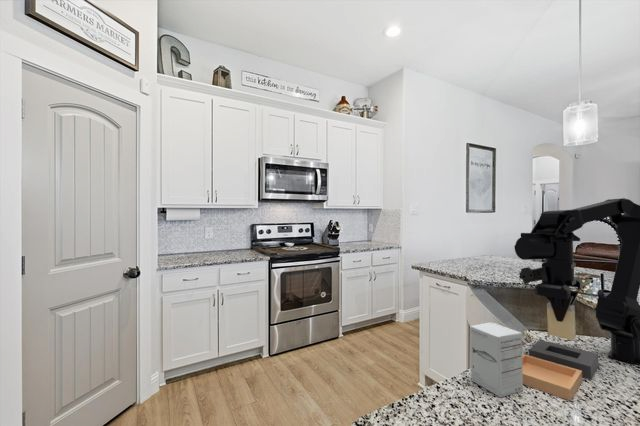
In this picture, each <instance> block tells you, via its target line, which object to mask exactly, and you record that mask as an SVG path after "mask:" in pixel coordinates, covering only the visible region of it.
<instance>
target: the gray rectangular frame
mask: <svg viewBox="0 0 640 426" xmlns="http://www.w3.org/2000/svg"><path fill="white" fill-rule="evenodd" d="M528 355H529V356H532V357H536V358H539V359H543V360H546V361H550V362H553V363H557V364H560V365H564V366H567V367H571V368H574V369H578V370H581V371H582V378H585V379H588V380H591V381H592V379H593V378H594V376H595V374H596V372H597V371H598V369H599V366H600V365H599V362H600V361H599V353H596V352H592V351H588V350H585V349H584V350H583V349H579V348H575V347H571V346H568V345H563V344H560V343H555V342H553V341H548V340H543V339H539V340H538V341H536V342H535V343H534V345H532V346H531V347H530V348H529V349H528Z"/></svg>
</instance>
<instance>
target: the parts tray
mask: <svg viewBox="0 0 640 426" xmlns="http://www.w3.org/2000/svg"><path fill="white" fill-rule="evenodd" d="M522 371H523V386H524V385H525V386H527V387H530V388H533V389H536V390H538V391H541V392H543V393H547V394H549V395H552V396H555V397H558V398H561V399H564V400H567V401H570V402H571V401H572V400H573V398H574V396H575V394H576V393H577V391H578V389H579V388H580V386H581V384H582V383H583V377H582V371H581V370H578V369H574V368H571V367H567V366H564V365H560V364H557V363H553V362H550V361H546V360H543V359H539V358H536V357H532V356H529V354H525V353H522Z"/></svg>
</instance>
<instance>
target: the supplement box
mask: <svg viewBox="0 0 640 426" xmlns="http://www.w3.org/2000/svg"><path fill="white" fill-rule="evenodd" d="M469 327H470V328H469V329H470V368H471V369H470V372H471V373H470V374H471V375H470V378H471V379H470V381H472V382H474V383H475V384H477V385H479V386H480V387H483V388H484V389H486V391H488V392H491V393H492V394H494V395H496V396H497V397H498V398H504V397H507V396H511V395H513V394H517V393H520V392H523V390H524V388H523V386H524V384H523V371H522V354H523V343H522V341H523V338H522V337H523V333H522V332H521V331H519V330H518V331H517V330H515V329H511V328H509V327H506V326H504V325H500V324H498V323H495V322H493V321H492V322H491V321H490V322H484V323H478V324H474V325H470V326H469Z"/></svg>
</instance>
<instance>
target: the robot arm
mask: <svg viewBox="0 0 640 426" xmlns="http://www.w3.org/2000/svg"><path fill="white" fill-rule="evenodd" d="M606 218H609V222H610V223H612V224H613V225H614V226H616V233H617V235H618V238H619V239H620V241H621V246H620V250H619V255H618V257H617V262H616V266H615V271H614V276H613V279H612V285H611V287H610V288H611V289H610V292H609V293H608V294H607V295H605V296H598V297H597V302H596V306H595V308H594V311H595V318H596V319H597V321H598V325H599V328H600V330H602V331H607V332H610V333H609V334H610V335H609V336H610V349H609V351H608V353H607V358H610V359H615V360H618V361H622V362H626V363H629V364H635V365H638V366H640V303H639V301H638V296H639V295H638V294H639V291H640V204H637V203H636V202H634V201H632V200H631V199H629V198H625V197H623V198H622V197H621V198H611V199H609V198H608V199H606V200H604V201H600V202H596V203H593V204H592V203H591V204H589V205H586V206H585V205H583V206H581V207H576V208H572V209H566V210H565V209H561V210H558V209H557V210H546V211H543V212H541V213H540V217H539V218H538V221H537V222H536V224H535V225H534V226H533V228H532V230H531V231H530V232H521V233H520V237H519V238H518V239H516V242H515V245H514V252H515V255H516V256H517V257H518V258H519V259H521V260H524V261H525V260H526V261H529V260H544V261H543V262H542V263H541V267H537V268H531V267H530V266H527V267H524V268H523V267H522V268H521V270H520V272H519V273H518V274H519V276H518V277H519V279H520V280H522V282H523V284H525V285H528V284H530V283H533V282H538V281H541V282H540V283H538V284H537V285H536V286H535V287H534V289H535V291H534V293H535V295H536V296H541V297H545V298H546V299H547V300H548V302H550V303H551V306H552V308H553V311H554V314H555V317H556V320H557V321H560V322H562V321H563V319H564V317H565V315H566V313H567V310H568V308H569V306H570V305H574V303H575V301H576V299H577V298H578V296H579V294H580V291H577V290H573V288H577V289H578V290H582V289H584V288H583V287H584V285H583V284H584V281H583V280H582V279H580V278H579V277H578V276H575V268H576V264H577V263H576V262H574V242H580V241H581V238H580V237H579V236H577V235H576V234H575V233H574V232H575V231H577V230H579V229H581V228H582V227H583V226H584V225H585V224H587V223H589V222H590V223H591V222H594V221H598V220H602V219H606Z"/></svg>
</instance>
